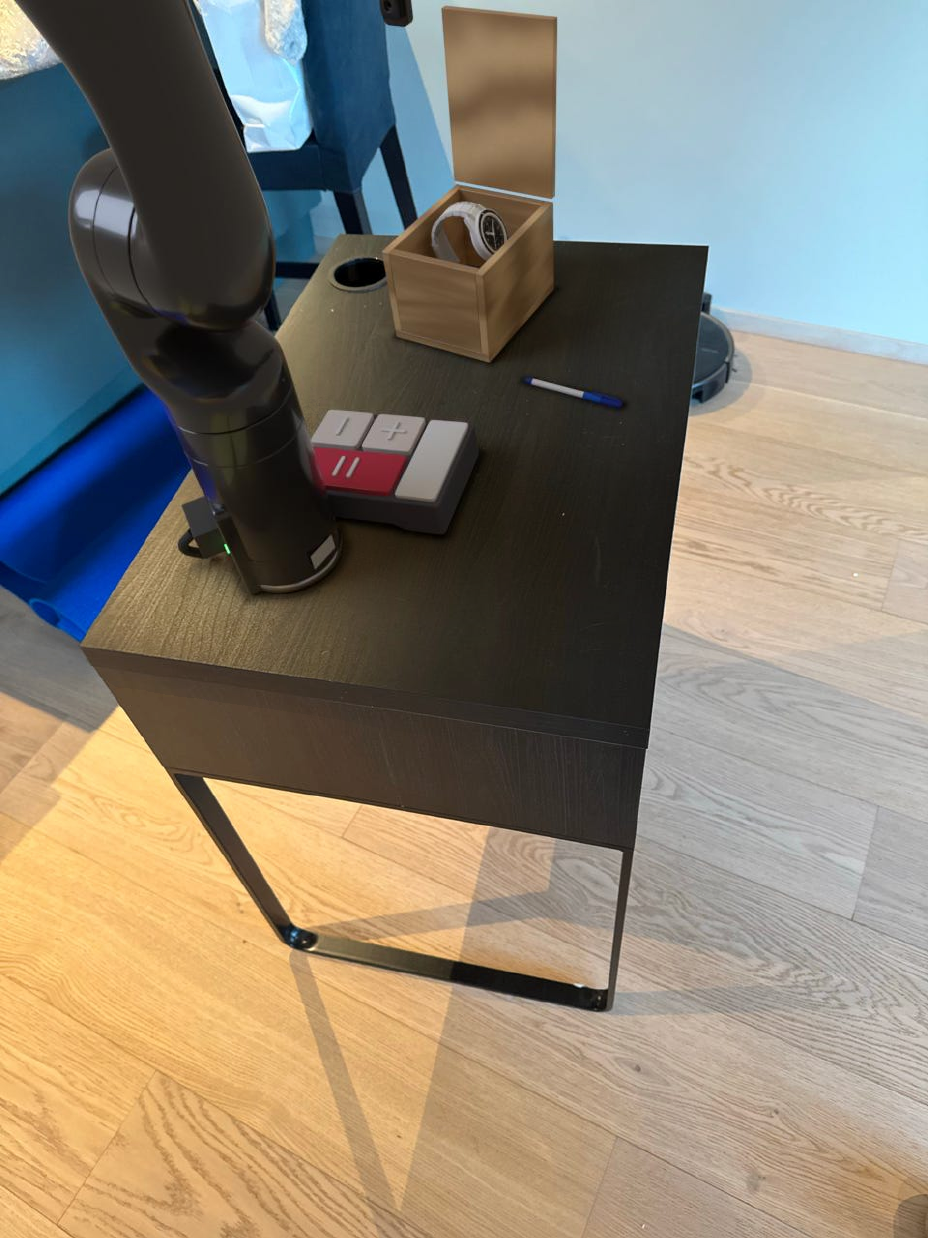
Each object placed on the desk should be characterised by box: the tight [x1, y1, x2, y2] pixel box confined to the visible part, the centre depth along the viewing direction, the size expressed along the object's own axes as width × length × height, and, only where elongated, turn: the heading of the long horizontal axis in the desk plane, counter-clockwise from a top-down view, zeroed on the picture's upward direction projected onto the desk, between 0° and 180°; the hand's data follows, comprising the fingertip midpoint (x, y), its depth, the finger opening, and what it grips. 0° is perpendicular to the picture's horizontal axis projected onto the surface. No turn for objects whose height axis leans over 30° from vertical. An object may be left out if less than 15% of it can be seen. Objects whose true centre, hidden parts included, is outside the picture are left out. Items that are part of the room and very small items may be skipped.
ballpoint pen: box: [524, 377, 623, 409], centre depth 83 cm, size 10×1×1 cm, turn 62°
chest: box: [381, 183, 555, 364], centre depth 90 cm, size 15×12×10 cm
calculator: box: [310, 409, 480, 535], centre depth 77 cm, size 11×4×15 cm
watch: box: [432, 202, 509, 269], centre depth 88 cm, size 6×8×11 cm
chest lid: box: [440, 5, 558, 200], centre depth 84 cm, size 16×12×5 cm
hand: (429, 3), depth 63 cm, fingers open, 8 cm apart
